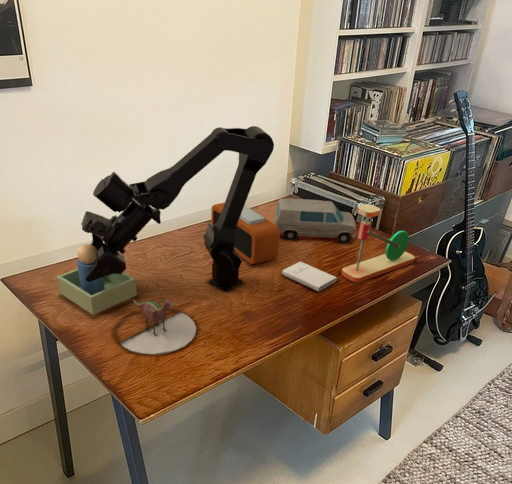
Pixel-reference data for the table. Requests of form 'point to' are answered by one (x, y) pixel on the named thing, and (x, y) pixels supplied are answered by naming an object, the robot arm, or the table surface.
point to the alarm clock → (252, 235)
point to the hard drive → (309, 276)
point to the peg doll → (88, 269)
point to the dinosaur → (161, 330)
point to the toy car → (313, 220)
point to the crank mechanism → (384, 262)
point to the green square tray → (114, 293)
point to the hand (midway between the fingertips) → (85, 271)
